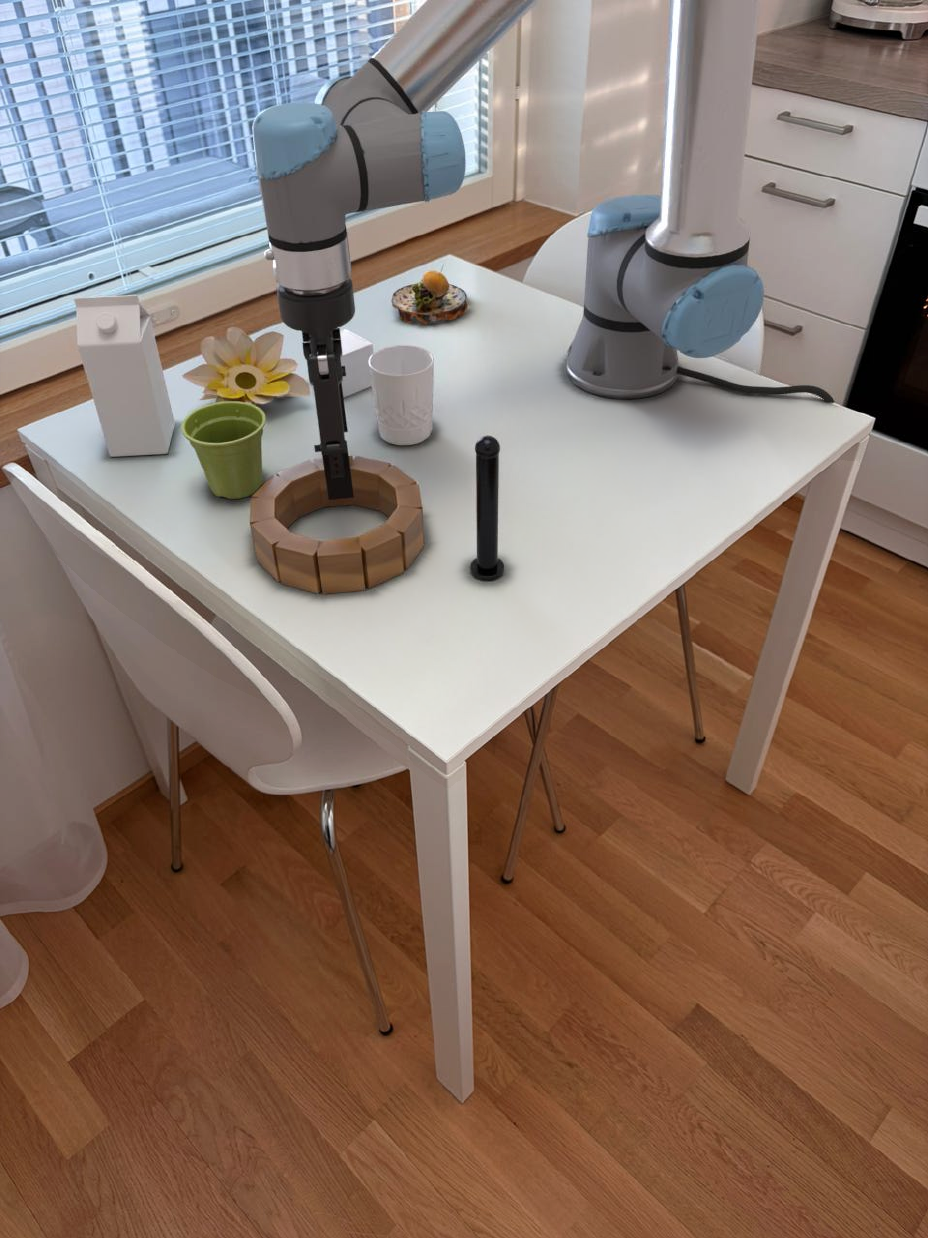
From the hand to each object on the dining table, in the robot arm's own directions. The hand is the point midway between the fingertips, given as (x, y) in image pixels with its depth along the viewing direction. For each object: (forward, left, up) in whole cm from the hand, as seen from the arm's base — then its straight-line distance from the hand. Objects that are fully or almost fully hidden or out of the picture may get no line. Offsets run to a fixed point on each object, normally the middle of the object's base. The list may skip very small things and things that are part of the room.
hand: (338, 462), depth 112 cm
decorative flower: (+11, -24, -5) cm, 27 cm away
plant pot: (+12, -5, -5) cm, 14 cm away
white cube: (-2, -28, -5) cm, 28 cm away
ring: (+1, +8, -5) cm, 9 cm away
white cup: (-9, -14, -5) cm, 17 cm away
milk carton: (+24, -17, -5) cm, 30 cm away
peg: (-15, +16, -5) cm, 22 cm away
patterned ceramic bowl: (-16, -50, -5) cm, 52 cm away
